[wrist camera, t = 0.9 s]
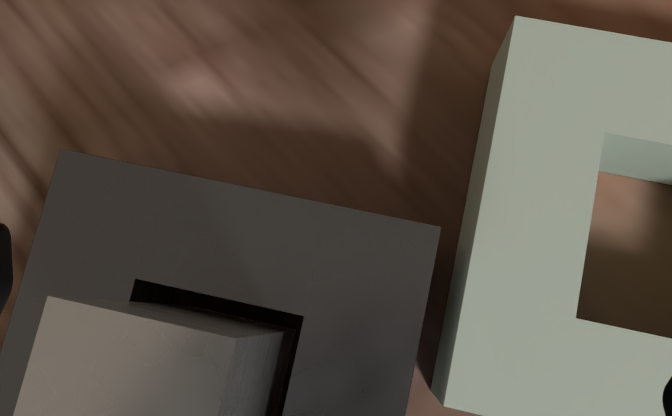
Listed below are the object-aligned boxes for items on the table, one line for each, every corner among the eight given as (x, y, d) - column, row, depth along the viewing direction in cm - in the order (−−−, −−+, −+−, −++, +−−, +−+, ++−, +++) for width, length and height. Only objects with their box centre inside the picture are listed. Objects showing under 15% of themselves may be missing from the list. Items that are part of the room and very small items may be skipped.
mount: (359, 598, 21) (357, 665, 17) (18, 510, 22) (-59, 552, 18) (429, 242, 23) (441, 226, 19) (112, 177, 24) (60, 148, 20)
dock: (793, 473, 21) (892, 509, 17) (430, 390, 22) (443, 406, 18) (826, 126, 23) (923, 86, 19) (491, 66, 24) (515, 15, 20)
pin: (269, 445, 22) (186, 550, 12) (159, 418, 22) (-11, 499, 12) (295, 329, 22) (236, 338, 13) (187, 305, 23) (47, 295, 13)
